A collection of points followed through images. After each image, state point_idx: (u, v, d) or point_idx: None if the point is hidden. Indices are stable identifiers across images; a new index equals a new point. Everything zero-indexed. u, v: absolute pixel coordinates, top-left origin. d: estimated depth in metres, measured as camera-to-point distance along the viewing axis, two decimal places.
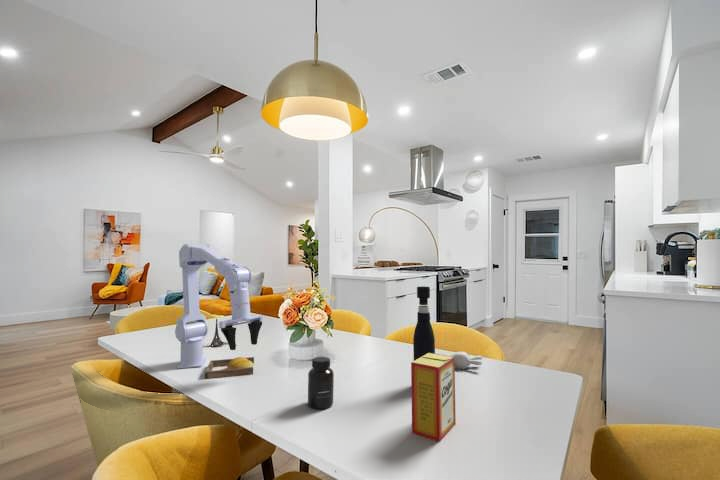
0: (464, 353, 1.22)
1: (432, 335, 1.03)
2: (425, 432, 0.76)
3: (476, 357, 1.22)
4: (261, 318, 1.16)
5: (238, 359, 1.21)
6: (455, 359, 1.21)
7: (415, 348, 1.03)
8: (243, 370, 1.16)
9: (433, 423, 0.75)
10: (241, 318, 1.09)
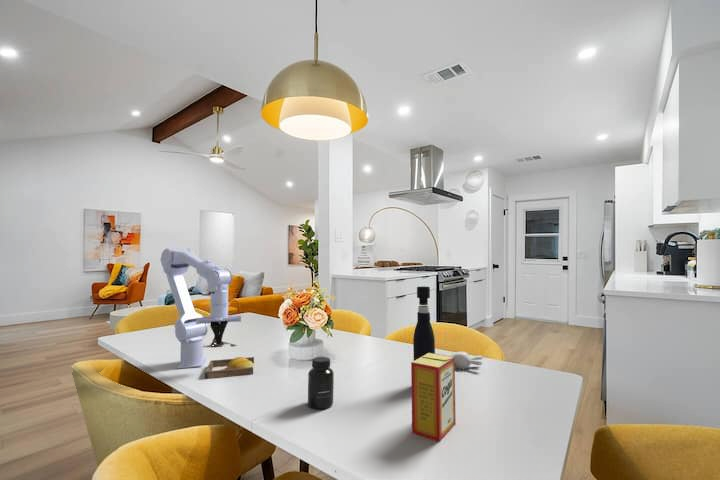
0: (465, 353, 1.22)
1: (432, 335, 1.03)
2: (425, 432, 0.76)
3: (476, 357, 1.22)
4: (239, 319, 1.21)
5: (238, 359, 1.21)
6: (456, 359, 1.21)
7: (415, 348, 1.03)
8: (243, 370, 1.16)
9: (433, 423, 0.75)
10: (213, 318, 1.17)
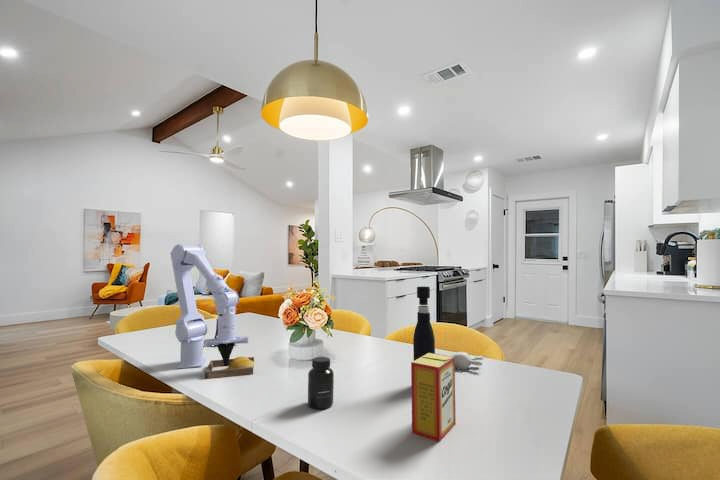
0: (465, 353, 1.22)
1: (432, 335, 1.03)
2: (425, 432, 0.76)
3: (477, 357, 1.21)
4: (246, 341, 1.21)
5: (239, 358, 1.22)
6: (456, 359, 1.20)
7: (415, 348, 1.03)
8: (243, 370, 1.16)
9: (433, 423, 0.75)
10: (221, 340, 1.18)
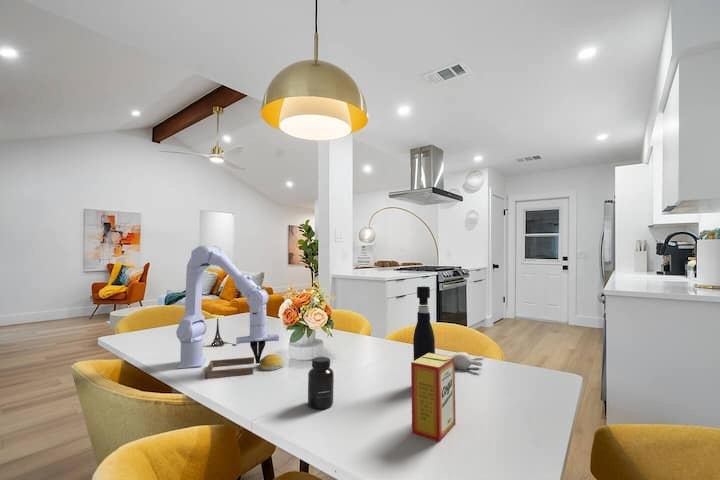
0: (466, 353, 1.21)
1: (432, 335, 1.03)
2: (425, 432, 0.76)
3: (477, 358, 1.21)
4: (277, 339, 1.24)
5: (270, 356, 1.24)
6: (456, 360, 1.20)
7: (415, 348, 1.03)
8: (243, 370, 1.16)
9: (433, 423, 0.75)
10: (253, 338, 1.21)
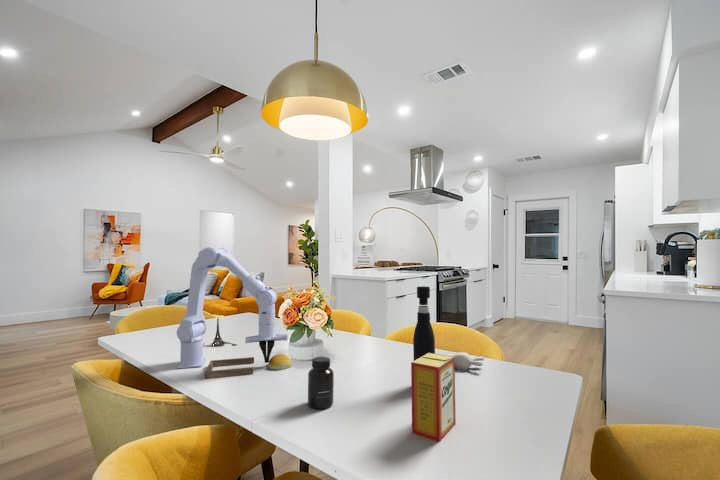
0: (466, 354, 1.21)
1: (432, 335, 1.03)
2: (425, 432, 0.76)
3: (478, 358, 1.21)
4: (286, 338, 1.25)
5: (278, 356, 1.25)
6: (456, 360, 1.20)
7: (415, 348, 1.03)
8: (243, 370, 1.16)
9: (433, 423, 0.75)
10: (262, 337, 1.21)
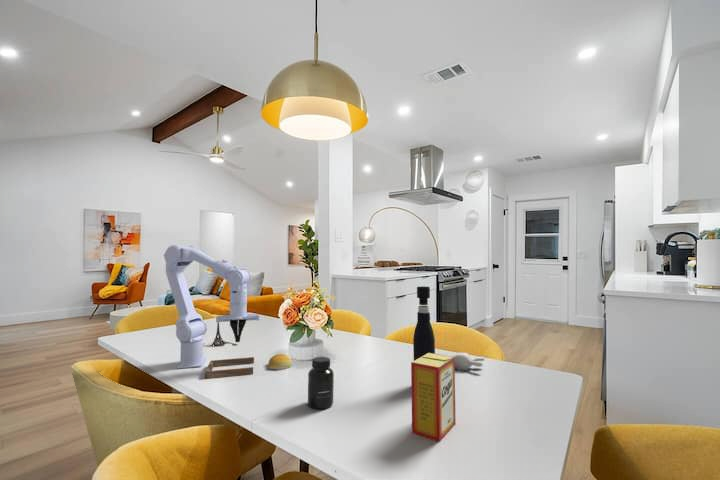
0: (466, 354, 1.21)
1: (432, 335, 1.03)
2: (425, 432, 0.76)
3: (478, 358, 1.20)
4: (257, 318, 1.25)
5: (278, 356, 1.25)
6: (456, 360, 1.20)
7: (415, 348, 1.03)
8: (243, 370, 1.16)
9: (433, 423, 0.75)
10: (233, 316, 1.21)
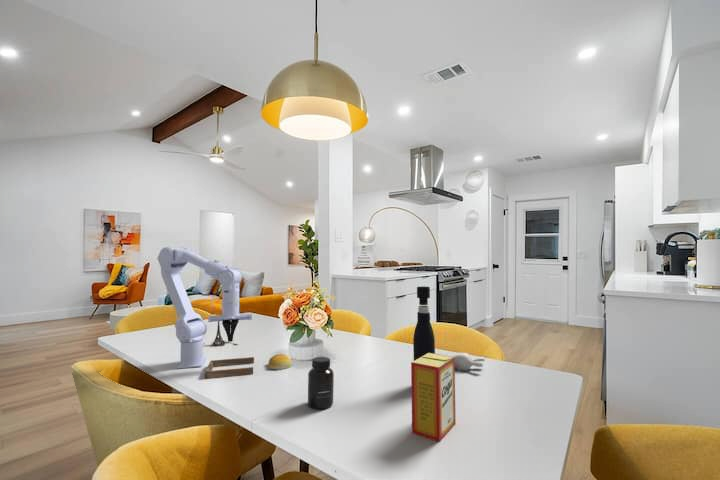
0: (466, 354, 1.21)
1: (432, 335, 1.03)
2: (425, 432, 0.76)
3: (478, 359, 1.20)
4: (250, 318, 1.24)
5: (278, 356, 1.25)
6: (457, 360, 1.19)
7: (415, 348, 1.03)
8: (243, 370, 1.16)
9: (433, 423, 0.75)
10: (225, 316, 1.21)
